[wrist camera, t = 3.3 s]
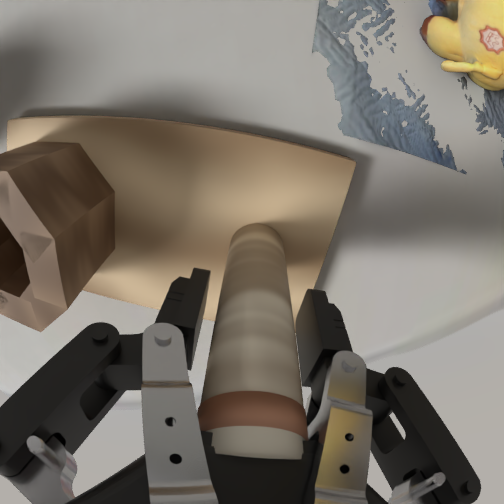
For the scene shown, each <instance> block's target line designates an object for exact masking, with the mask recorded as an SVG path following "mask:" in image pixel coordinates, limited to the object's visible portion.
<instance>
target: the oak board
mask: <svg viewBox="0 0 504 504" xmlns="http://www.w3.org/2000/svg"><path fill="white" fill-rule="evenodd" d="M33 142H68V143H79V144H80V145H81V146H82V148H83V149H84V151H85V152H86V153H87V155H88V156H89V158H90V159H91V160H92V162H93V163H94V164H95V166H96V167H97V168H98V170H99V171H100V173H101V174H102V175H103V177H104V178H105V179H106V181H107V182H108V183H109V184H110V186H111V187H112V188H113V190H114V191H115V250H114V251H113V252H112V253H111V254H110V255H109V257H108V258H107V259H106V260H105V262H104V263H103V264H102V265H101V266H100V268H99V269H98V270H97V271H96V273H95V274H94V275H93V276H92V278H91V279H90V280H89V282H88V283H87V284H86V285H85V287H84V288H83V289H82V290H84V291H87V292H91V293H95V294H98V295H102V296H106V297H109V298H113V299H117V300H121V301H125V302H129V303H133V304H137V305H141V306H145V307H150V308H154V309H158V310H160V309H161V306H162V304H163V302H164V299H165V297H166V295H167V292H168V290H169V288H170V285H171V283H172V282H173V281H174V280H176V279H177V278H178V277H179V276H180V277H185V278H190V276H191V274H192V271H193V268H194V267H195V268H200V269H206V270H211V274H210V281H209V288H208V294H207V301H206V307H205V312H204V316H203V319H206V320H211V321H215V318H216V313H217V308H218V302H219V297H220V292H221V286H222V281H223V276H224V271H225V266H226V261H227V256H228V251H229V246H230V241H231V238H232V236H233V235H234V233H235V232H236V231H237V230H238V229H240V228H241V227H243V226H245V225H248V224H254V223H259V224H264V225H267V226H270V227H271V228H273V229H274V230H275V231H277V232H278V234H279V235H280V237H281V239H282V241H283V247H284V253H285V260H286V267H287V274H288V282H289V289H290V296H291V304H292V311H293V319H294V327H295V323H296V317H297V314H298V311H299V309H300V306H301V304H302V301H303V298H304V296H305V293H306V291H307V289H314V286H315V283H316V281H317V278H318V275H319V273H320V270H321V267H322V265H323V262H324V259H325V257H326V254H327V251H328V248H329V245H330V243H331V240H332V237H333V234H334V231H335V228H336V225H337V222H338V219H339V216H340V213H341V210H342V207H343V204H344V201H345V198H346V195H347V192H348V189H349V185H350V182H351V179H352V176H353V172H354V169H355V166H356V162H355V161H354V160H352V159H351V158H349V157H345V156H342V155H338V154H335V153H331V152H328V151H324V150H321V149H317V148H313V147H309V146H305V145H301V144H297V143H293V142H289V141H285V140H280V139H276V138H271V137H267V136H262V135H257V134H252V133H247V132H241V131H236V130H230V129H224V128H218V127H212V126H205V125H198V124H191V123H183V122H175V121H166V120H156V119H144V118H131V117H113V116H38V117H22V118H15V119H11V120H8V122H7V151H10V150H12V149H15V148H18V147H21V146H24V145H27V144H29V143H33ZM295 333H296V330H295Z"/></svg>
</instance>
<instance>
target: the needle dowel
mask: <svg viewBox="0 0 504 504" xmlns="http://www.w3.org/2000/svg"><path fill="white" fill-rule="evenodd" d="M197 416H198V421H199V427H200V431H206V432H212V433H213V436H212V445H211V446H214V448H215V453H217V454H225V455H233V456H242V457H253V458H268V459H301V458H302V453H303V441H309V439H308V429H307V419H306V412H305V409H304V407H303V398H302V387H301V378H300V369H299V360H298V352H297V343H296V335H295V327H294V319H293V311H292V304H291V296H290V289H289V282H288V274H287V267H286V260H285V253H284V247H283V241H282V239H281V237H280V235H279V234H278V232H277V231H275V230H274V229H273V228H271V227H270V226H267V225H264V224H259V223H254V224H248V225H245V226H243V227H241V228H240V229H238V230H237V231H236V232H235V233H234V235H233V236H232V238H231V241H230V246H229V251H228V256H227V261H226V266H225V271H224V276H223V281H222V286H221V292H220V297H219V302H218V308H217V313H216V318H215V324H214V329H213V335H212V340H211V346H210V352H209V357H208V363H207V369H206V375H205V380H204V386H203V392H202V398H201V404H200V406H199V408H198V412H197Z"/></svg>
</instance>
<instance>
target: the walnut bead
mask: <svg viewBox="0 0 504 504" xmlns="http://www.w3.org/2000/svg"><path fill="white" fill-rule="evenodd" d="M114 250H115V191H114V190H113V188H112V187H111V186H110V184H109V183H108V182H107V181H106V179H105V178H104V177H103V175H102V174H101V173H100V171H99V170H98V168H97V167H96V166H95V164H94V163H93V162H92V160H91V159H90V158H89V156H88V155H87V153H86V152H85V151H84V149H83V148H82V146H81V145H80V144H79V143H68V142H33V143H29V144H27V145H24V146H21V147H18V148H15V149H12V150H10V151H7V152H4V153H2V154H0V314H2V315H4V316H6V317H8V318H10V319H12V320H15V321H17V322H19V323H21V324H23V325H26V326H28V327H30V328H32V329H35V330H37V331H40V332H42V331H43V330H44V329H45V328H46V327H47V326H49V325H50V324H51V323H52V322H53V321H54V320H56V319H57V318H58V317H59V316H60V315H61V314H63V313H64V312H65V311H66V310H67V309H68V308H69V307H70V305H71V304H72V303H73V301H74V300H75V299H76V297H77V296H78V295H79V293H80V292H81V291H82V289H83V288H84V287H85V285H86V284H87V283H88V282H89V280H90V279H91V278H92V276H93V275H94V274H95V273H96V271H97V270H98V269H99V268H100V266H101V265H102V264H103V263H104V262H105V260H106V259H107V258H108V257H109V255H110V254H111V253H112V252H113V251H114Z"/></svg>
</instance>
